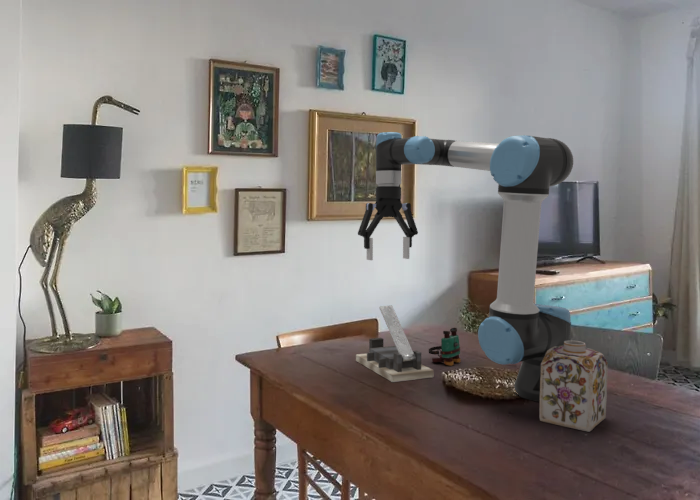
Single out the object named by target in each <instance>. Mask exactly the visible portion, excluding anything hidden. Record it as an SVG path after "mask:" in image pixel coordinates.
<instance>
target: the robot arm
mask: <svg viewBox="0 0 700 500" xmlns="http://www.w3.org/2000/svg"><path fill="white" fill-rule="evenodd" d="M404 165H425V166H445V167H451V168H453V167H454V168H461V169H462V168H463V169H469V170H470V169H471V170H478V171H487V172H490V175H491V176H492V177H493V180H494V182H495V183H496V184H498V185H497V194H498V195H499V197H501V199H502V200H503V207H502V208H503V210H502V220H501V221H502V223H501V237H500V238H501V239H500V249H499V250H500V252H499V263H498V277H497V292H496V299H495V300H494V301H493V302H491V303H490V304H489V310H488V311H489V313H488V317H486V318H485V319H484V320H483V321H482V322H481V323H480V325H479V327H478V330H477V337H478V338H477V339H478V344H479V346H480V349H481V350H482V352H484V354H485V356H486V357H487V358H488V359H489V360H491V362H494V363H496V364H499V365H503V366H504V365H514V364H515V365H516V364H518V363H521V364H520V368H519V370H518V373H517V377H516V379H515V381H514V388H515V390H516V392H517V393H518V395H519V397H520V398H522V399H525V400H530V401H534V402H539V403H540V378H541V363H542V361H543V358H544V357H545V354H546V352H547V350H549V349H550V348H552V347H555V346H564V341H571V327H572V321H571V311H569V309H567V308H565V307H561V306H557V305H556V306H555V305H549V304H540V303H534V300H535V299H534V297H535V288H536V286H535V285H536V277H537V275H536V273H537V263H538V262H537V261H538V250H539V237H540V227H541V226H540V225H541V224H540V223H541V213H542V203H543V201H544V200H545V199H547V198H548V197H549V195H550V187H554V186H557V185H559V184H561V183H562V182H565V180H566V179H568V178H569V176H570V175H571V173H572V171H573V168H574V156H573V152H572V150H571V149H570V147H569V146H568V145H567V144H566V143H565V142H563V141H561V140H559V139H556V138H551V137H550V138H549V137H540V136H533V135H525V134H523V135H511V136H508V137H506V138H504V139H502V140H501V142H500V143H498V142H497V143H496V142H485V141H484V142H483V141H482V142H480V141H465V140H455V139H440V138H439V139H437V138H429V137H428V136H426V135H425V136H424V135H421V136H419V135H415V136H410V137H402V133H400V132H396V131H387V132H379V133H378V134H377V135H376V144H375V170H376V171H375V184H376V185H377V186H376V187H375V203H372V202H367V203H365V211H364V215H363V217H362V220H361V223H360V226H359V228H358V231H357V235H358V236H360V237H362V238H363V248H364V249H366V260H367V261H373V260H374V259H373V257H374V254H373V253H374V245H373V243H374V239H373V237H372V235H373V234H374V231H375V230H376V228H377V226H379V225H380V222H381V220H383V218H394V219H395V221H396V223H397V224H398V226H399V227H400V228H401V230H402V232H403V234H404V235H405V236H403V237H402V239H403V240H402V259H405V260H410V248H412V246H413V238H414V236H416V235H418V233H419V232H418V228H417V226H416V225H417V224H416V223H415V218H414V216H413V214H412V205H411V202H404V203H402V201H401V200H402V187H401V186H400V185H402V166H404ZM375 209H376V210H375ZM374 210H375V211H377V212H376V213H375V214H374V217H373V219H372V221H370V220H371V217H372V214H373V211H374ZM401 210H403V214H404V217H405V219H406V221H405V219H404V218H403V215H402V213H401V212H400V211H401ZM518 395H517V396H518Z"/></svg>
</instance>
